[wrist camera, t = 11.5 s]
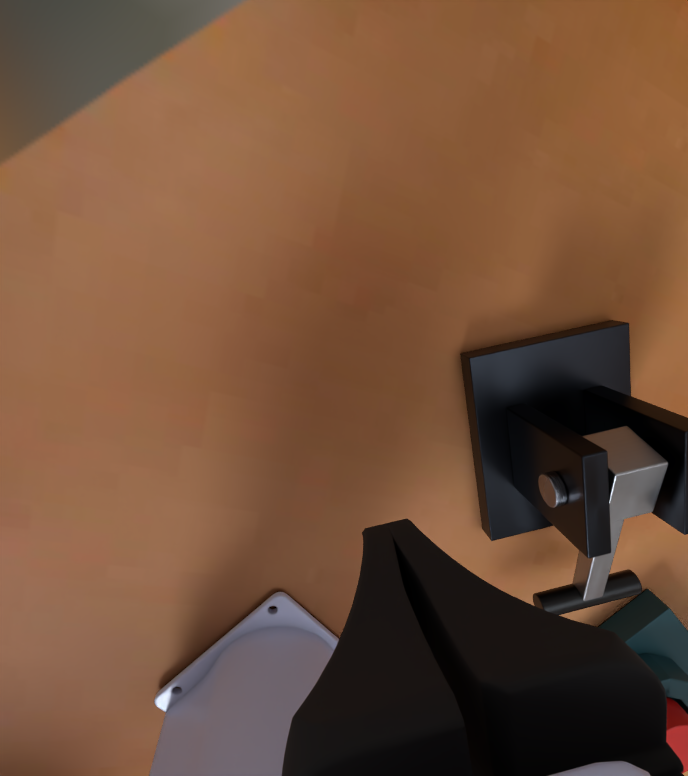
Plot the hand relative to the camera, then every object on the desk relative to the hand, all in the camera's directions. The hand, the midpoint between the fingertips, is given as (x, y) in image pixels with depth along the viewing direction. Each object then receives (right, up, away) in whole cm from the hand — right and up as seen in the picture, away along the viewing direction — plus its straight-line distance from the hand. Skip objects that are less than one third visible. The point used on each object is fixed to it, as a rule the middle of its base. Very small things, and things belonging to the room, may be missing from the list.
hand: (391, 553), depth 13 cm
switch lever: (+10, -1, +9) cm, 14 cm away
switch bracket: (+9, +3, +11) cm, 15 cm away
